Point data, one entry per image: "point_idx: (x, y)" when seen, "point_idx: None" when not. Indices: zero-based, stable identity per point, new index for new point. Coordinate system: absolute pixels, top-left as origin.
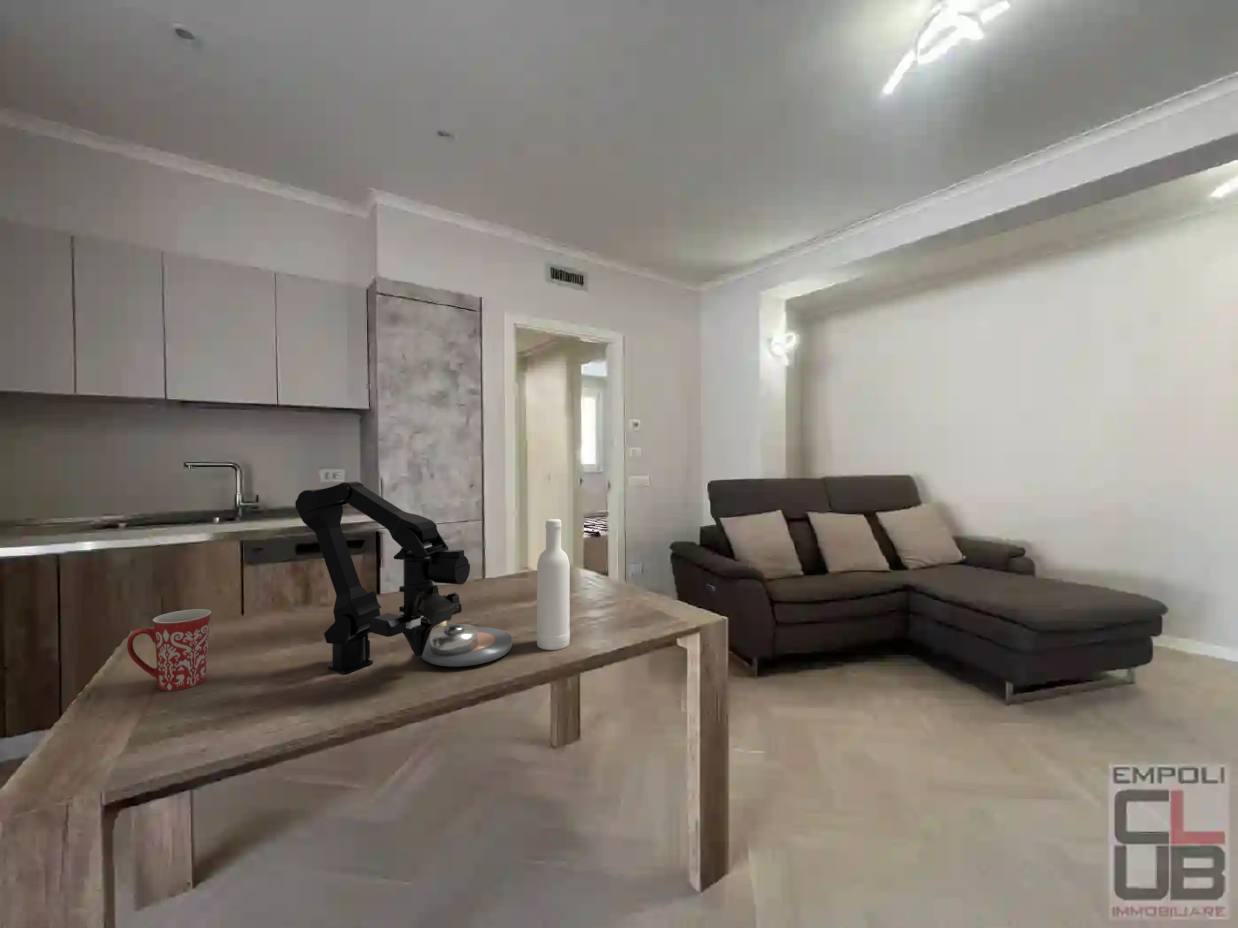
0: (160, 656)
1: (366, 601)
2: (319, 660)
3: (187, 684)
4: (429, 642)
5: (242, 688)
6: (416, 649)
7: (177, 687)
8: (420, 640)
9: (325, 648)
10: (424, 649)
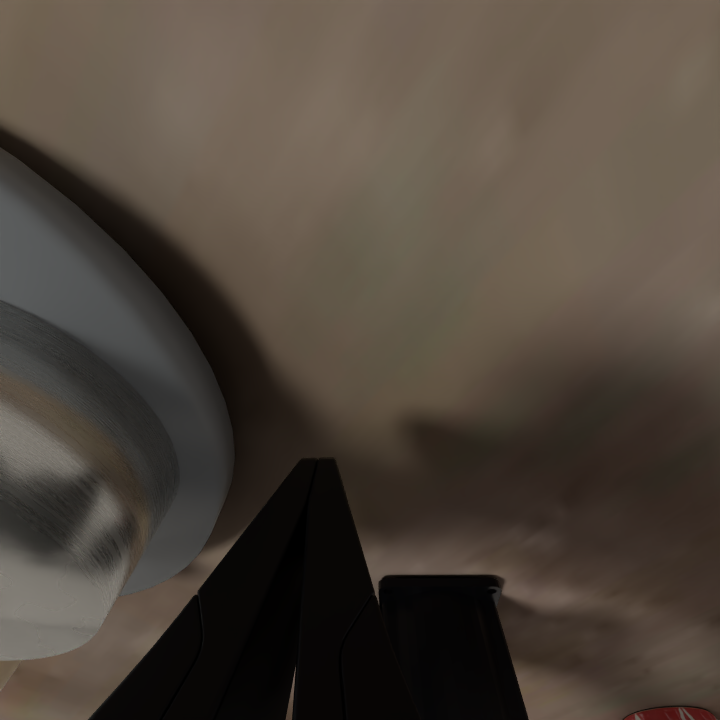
0: None
1: None
2: None
3: (699, 718)
4: None
5: (673, 660)
6: (353, 523)
7: (711, 717)
8: (317, 620)
9: None
10: (193, 530)
